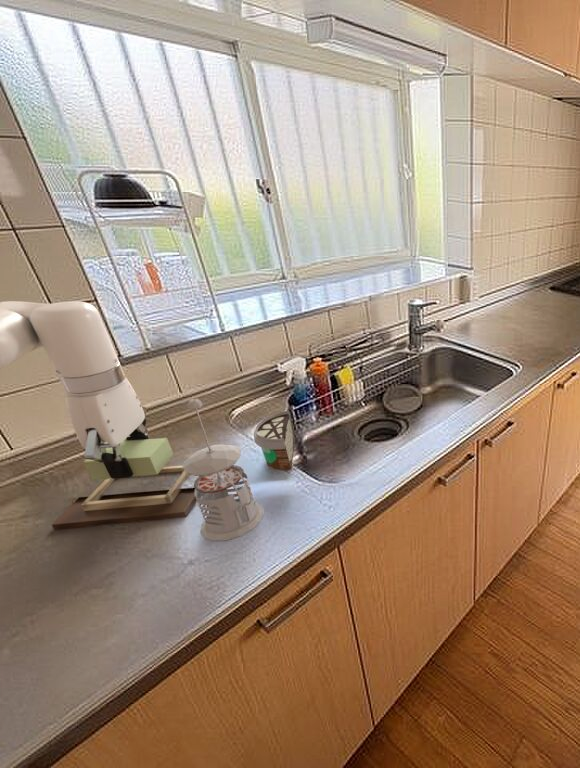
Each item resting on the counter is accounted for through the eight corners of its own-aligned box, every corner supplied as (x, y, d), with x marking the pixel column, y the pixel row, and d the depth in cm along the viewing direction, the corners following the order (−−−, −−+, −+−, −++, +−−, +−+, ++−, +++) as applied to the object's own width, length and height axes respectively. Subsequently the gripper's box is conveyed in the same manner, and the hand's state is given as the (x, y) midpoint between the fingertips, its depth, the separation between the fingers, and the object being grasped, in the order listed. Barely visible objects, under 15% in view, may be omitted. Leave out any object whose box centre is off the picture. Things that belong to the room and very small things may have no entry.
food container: (266, 450, 94) (256, 412, 90) (297, 446, 96) (288, 409, 92) (258, 486, 84) (247, 445, 79) (292, 480, 86) (283, 440, 82)
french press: (242, 493, 82) (207, 379, 70) (282, 516, 77) (251, 398, 66) (188, 526, 74) (138, 404, 63) (229, 553, 69) (183, 427, 58)
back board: (54, 529, 72) (47, 518, 71) (109, 473, 85) (104, 463, 84) (186, 516, 76) (181, 505, 75) (219, 465, 89) (216, 455, 88)
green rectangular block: (92, 480, 74) (82, 462, 72) (113, 459, 79) (105, 441, 77) (157, 474, 76) (149, 456, 74) (173, 454, 81) (167, 437, 79)
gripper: (101, 358, 76) (137, 440, 84) (24, 405, 61) (77, 499, 69) (148, 356, 77) (179, 437, 86) (85, 402, 62) (130, 495, 71)
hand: (133, 464), depth 77 cm, fingers closed on green rectangular block, 6 cm apart
